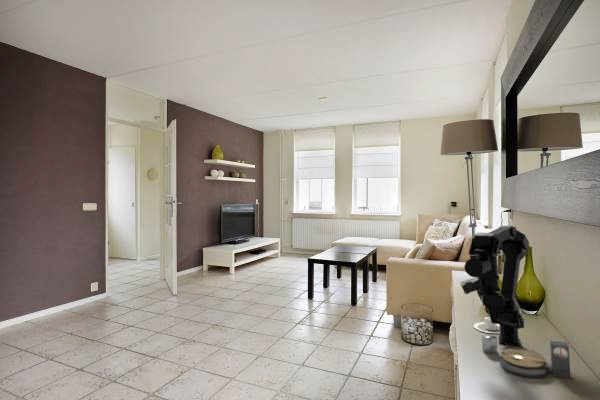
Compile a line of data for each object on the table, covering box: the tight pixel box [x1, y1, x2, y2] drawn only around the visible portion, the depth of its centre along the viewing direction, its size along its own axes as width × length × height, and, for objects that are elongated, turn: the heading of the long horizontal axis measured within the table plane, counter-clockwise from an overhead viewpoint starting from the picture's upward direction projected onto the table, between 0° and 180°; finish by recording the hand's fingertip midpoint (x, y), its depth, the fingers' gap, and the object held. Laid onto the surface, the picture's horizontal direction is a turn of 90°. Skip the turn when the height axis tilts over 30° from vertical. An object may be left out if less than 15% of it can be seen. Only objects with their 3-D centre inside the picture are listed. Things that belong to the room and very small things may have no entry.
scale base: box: [499, 340, 572, 379], centre depth 103 cm, size 12×17×9 cm
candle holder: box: [473, 316, 500, 334], centre depth 137 cm, size 12×12×4 cm
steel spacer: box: [481, 333, 499, 355], centre depth 117 cm, size 4×4×5 cm
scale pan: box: [501, 348, 547, 369], centre depth 104 cm, size 11×11×1 cm
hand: (491, 318), depth 115 cm, fingers open, 9 cm apart
